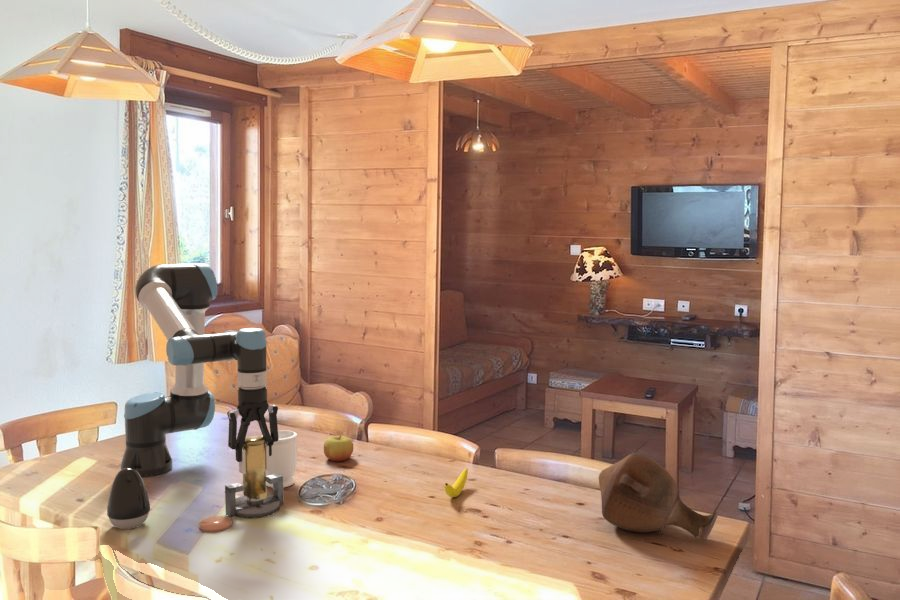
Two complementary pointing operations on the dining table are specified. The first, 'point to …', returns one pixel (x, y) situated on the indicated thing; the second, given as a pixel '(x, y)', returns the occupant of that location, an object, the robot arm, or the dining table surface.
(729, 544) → the dining table surface
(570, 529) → the dining table surface
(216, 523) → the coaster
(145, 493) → the black and white egg
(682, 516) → the jug
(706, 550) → the dining table surface
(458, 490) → the banana
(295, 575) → the dining table surface
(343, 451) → the apple
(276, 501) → the grey two-tab base
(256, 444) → the amber glass cylinder
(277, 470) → the jar
